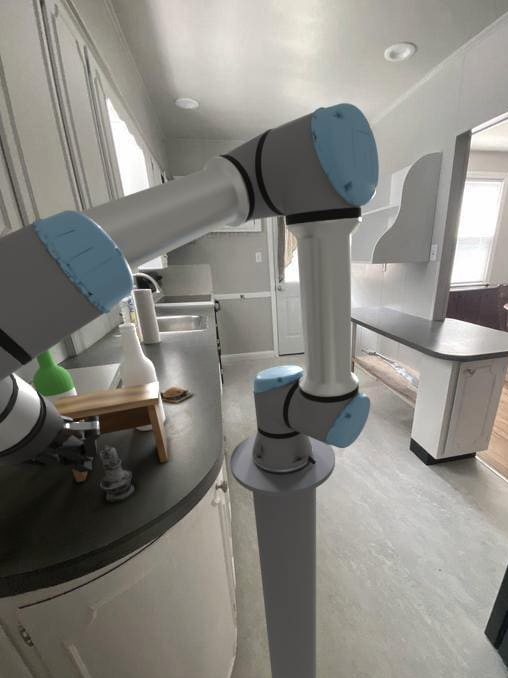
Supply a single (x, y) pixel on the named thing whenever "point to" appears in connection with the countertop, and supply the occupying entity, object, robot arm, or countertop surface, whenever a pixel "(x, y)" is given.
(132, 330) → the alcohol
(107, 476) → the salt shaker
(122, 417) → the desk
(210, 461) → the countertop surface
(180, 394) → the brown sandwich
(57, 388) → the wine bottle
